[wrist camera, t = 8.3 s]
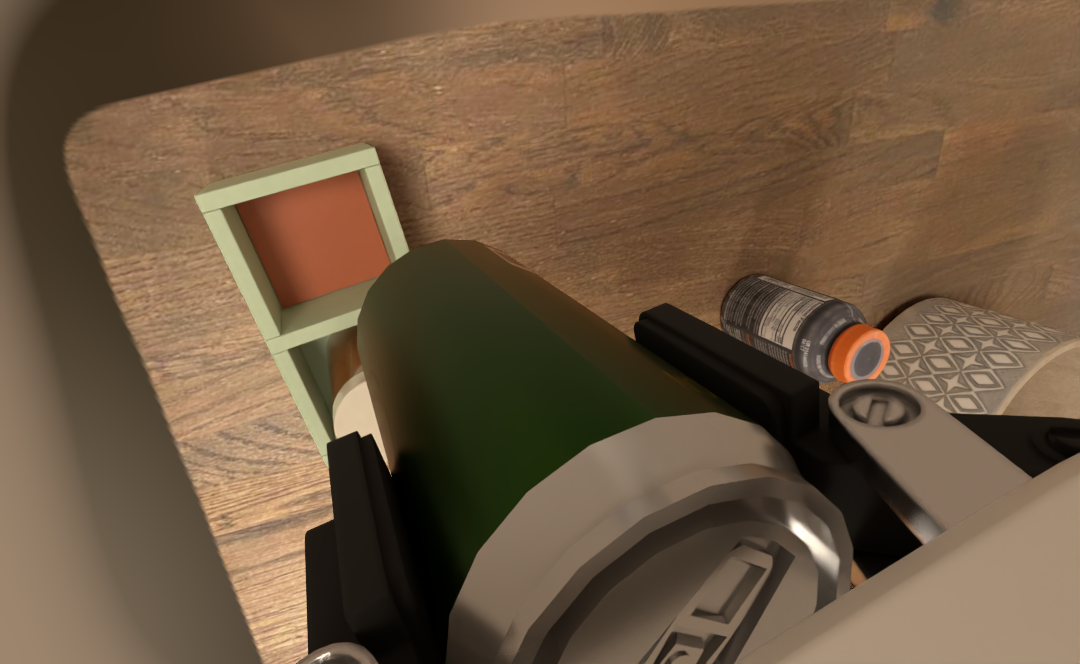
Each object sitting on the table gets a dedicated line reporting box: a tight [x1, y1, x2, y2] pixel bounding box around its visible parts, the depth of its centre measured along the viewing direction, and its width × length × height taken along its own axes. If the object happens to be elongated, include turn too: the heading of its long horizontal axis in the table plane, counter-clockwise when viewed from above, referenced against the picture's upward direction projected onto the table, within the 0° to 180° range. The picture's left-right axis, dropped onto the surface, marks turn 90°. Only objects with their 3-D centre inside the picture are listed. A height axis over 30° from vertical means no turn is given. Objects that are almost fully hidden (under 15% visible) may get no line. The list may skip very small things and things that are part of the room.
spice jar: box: [326, 325, 388, 463], centre depth 30 cm, size 5×5×9 cm
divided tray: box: [194, 142, 409, 468], centre depth 31 cm, size 15×8×5 cm, turn 14°
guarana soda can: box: [357, 239, 853, 664], centre depth 12 cm, size 5×5×12 cm
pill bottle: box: [721, 274, 890, 383], centre depth 41 cm, size 6×6×11 cm
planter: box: [875, 297, 1080, 419], centre depth 51 cm, size 16×16×13 cm
